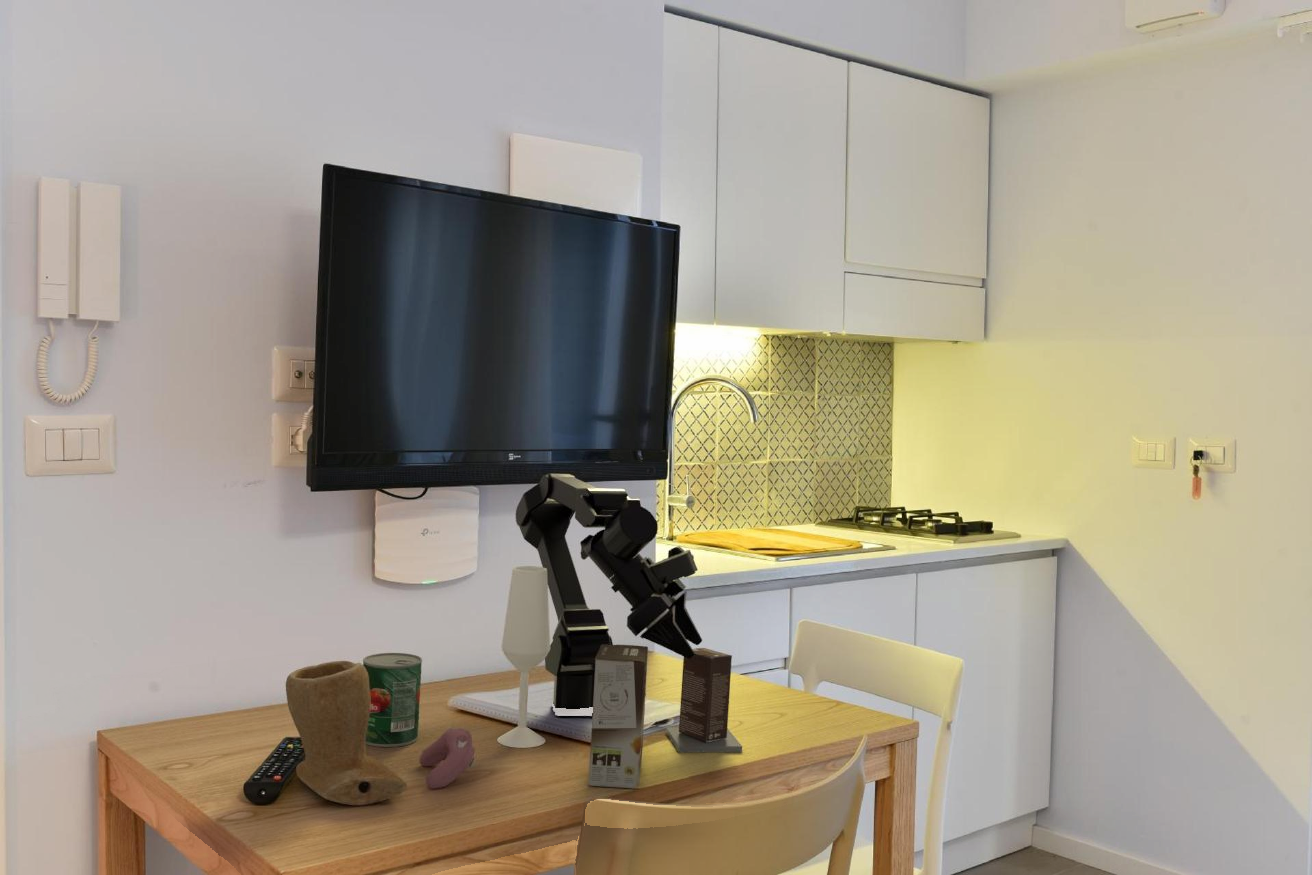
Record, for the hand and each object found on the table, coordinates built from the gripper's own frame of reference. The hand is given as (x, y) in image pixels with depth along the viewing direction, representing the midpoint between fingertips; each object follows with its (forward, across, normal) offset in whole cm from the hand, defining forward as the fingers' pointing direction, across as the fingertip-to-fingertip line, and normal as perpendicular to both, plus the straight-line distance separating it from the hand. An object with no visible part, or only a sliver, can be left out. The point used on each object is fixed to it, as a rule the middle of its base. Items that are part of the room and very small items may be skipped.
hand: (696, 649), depth 162 cm
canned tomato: (-19, -13, +38) cm, 44 cm away
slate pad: (+10, 0, +8) cm, 13 cm away
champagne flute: (-7, -8, +26) cm, 28 cm away
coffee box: (+4, -18, +15) cm, 24 cm away
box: (+10, 0, +8) cm, 13 cm away
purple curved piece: (-10, -25, +29) cm, 39 cm away
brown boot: (-18, -33, +36) cm, 52 cm away
